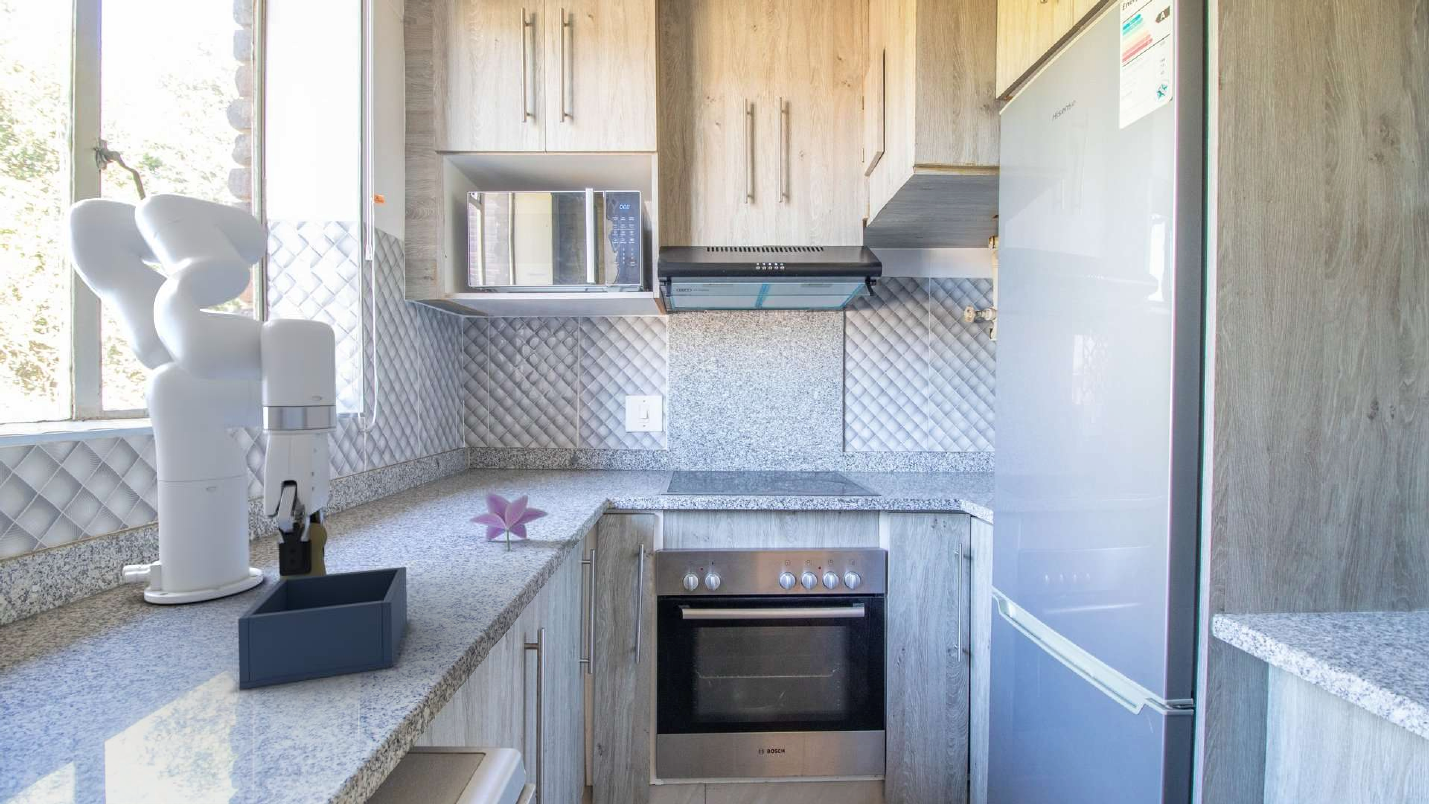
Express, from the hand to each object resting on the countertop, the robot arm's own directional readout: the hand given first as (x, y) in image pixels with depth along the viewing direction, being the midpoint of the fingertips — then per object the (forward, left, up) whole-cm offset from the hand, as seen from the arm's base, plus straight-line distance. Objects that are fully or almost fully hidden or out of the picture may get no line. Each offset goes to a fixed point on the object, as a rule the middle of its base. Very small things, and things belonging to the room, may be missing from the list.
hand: (303, 565), depth 75 cm
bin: (+6, -14, -6) cm, 16 cm away
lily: (+25, +25, -6) cm, 36 cm away
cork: (0, 0, -6) cm, 6 cm away
